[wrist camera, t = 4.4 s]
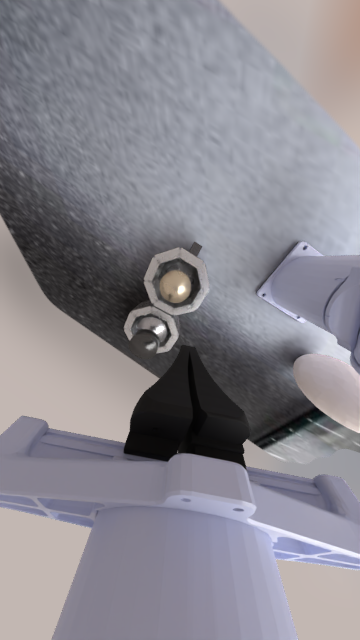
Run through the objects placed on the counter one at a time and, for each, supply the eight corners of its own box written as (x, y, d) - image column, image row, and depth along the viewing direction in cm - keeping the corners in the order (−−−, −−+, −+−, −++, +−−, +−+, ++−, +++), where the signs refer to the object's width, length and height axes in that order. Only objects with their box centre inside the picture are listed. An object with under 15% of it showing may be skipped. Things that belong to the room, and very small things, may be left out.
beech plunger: (200, 274, 19) (203, 279, 14) (184, 301, 20) (182, 313, 16) (171, 257, 18) (166, 257, 14) (157, 287, 20) (148, 294, 15)
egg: (279, 375, 27) (338, 453, 16) (281, 346, 24) (357, 418, 13) (321, 371, 25) (416, 452, 15) (329, 339, 22) (455, 412, 12)
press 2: (127, 332, 25) (116, 344, 21) (145, 290, 21) (136, 297, 17) (164, 349, 26) (159, 364, 22) (187, 313, 22) (186, 324, 19)
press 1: (220, 261, 18) (227, 262, 15) (187, 312, 22) (187, 323, 18) (171, 230, 17) (166, 223, 14) (145, 289, 21) (136, 296, 17)
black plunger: (134, 333, 21) (119, 352, 17) (144, 310, 19) (131, 325, 15) (159, 345, 22) (152, 367, 17) (172, 324, 20) (167, 342, 16)
